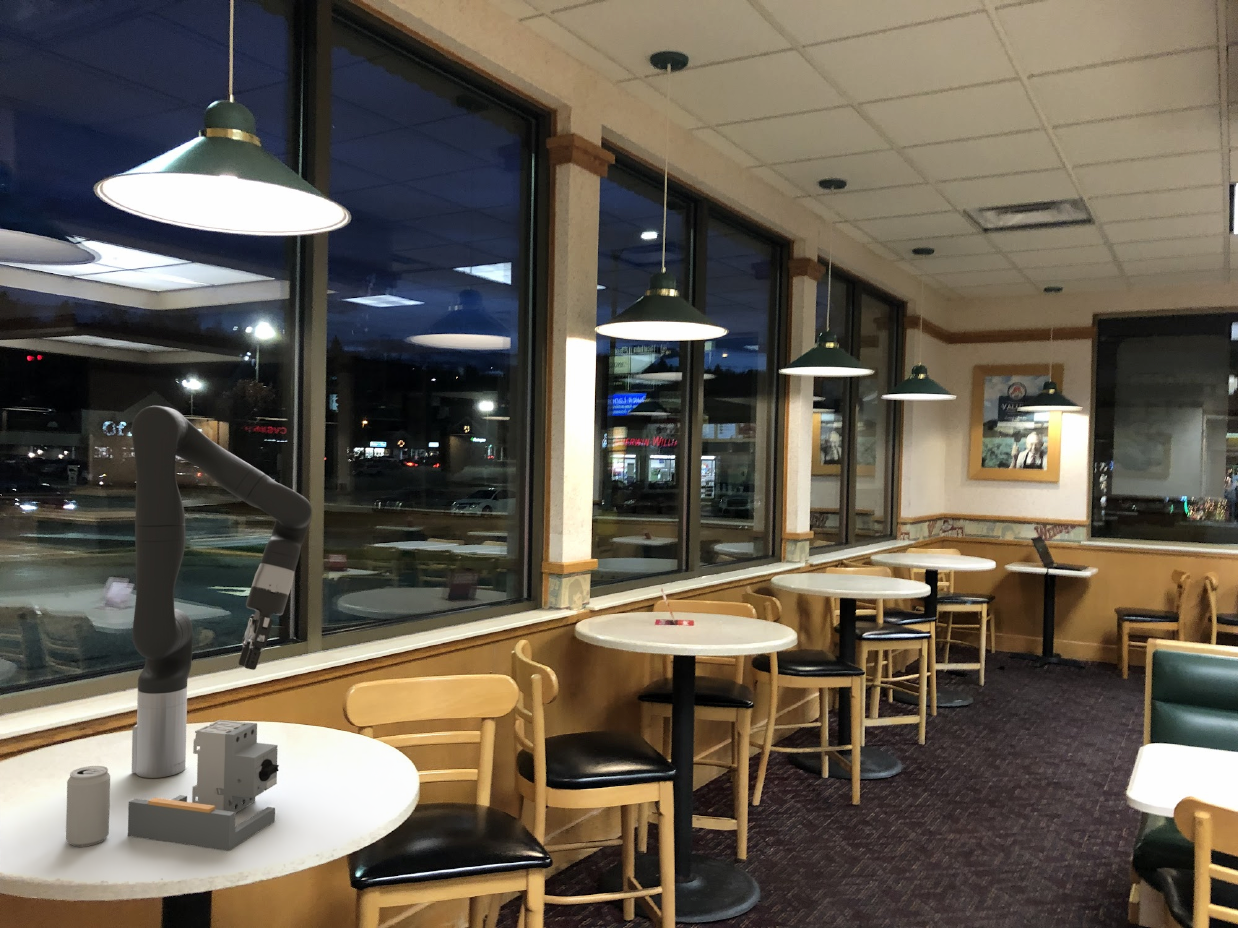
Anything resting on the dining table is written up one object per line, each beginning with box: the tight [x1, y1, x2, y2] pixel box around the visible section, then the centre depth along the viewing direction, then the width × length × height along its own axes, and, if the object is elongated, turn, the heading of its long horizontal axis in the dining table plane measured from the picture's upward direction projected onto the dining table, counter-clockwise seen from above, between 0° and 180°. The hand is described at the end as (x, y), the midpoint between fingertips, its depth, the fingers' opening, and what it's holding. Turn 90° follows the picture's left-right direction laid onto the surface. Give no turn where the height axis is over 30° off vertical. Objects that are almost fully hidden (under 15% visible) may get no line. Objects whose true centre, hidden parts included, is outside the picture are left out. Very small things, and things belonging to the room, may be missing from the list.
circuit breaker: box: [191, 719, 280, 814], centre depth 174 cm, size 8×14×15 cm, turn 78°
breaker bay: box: [127, 794, 276, 852], centre depth 165 cm, size 20×13×7 cm, turn 77°
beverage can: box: [65, 765, 111, 848], centre depth 158 cm, size 6×6×12 cm
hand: (246, 667), depth 188 cm, fingers open, 8 cm apart
